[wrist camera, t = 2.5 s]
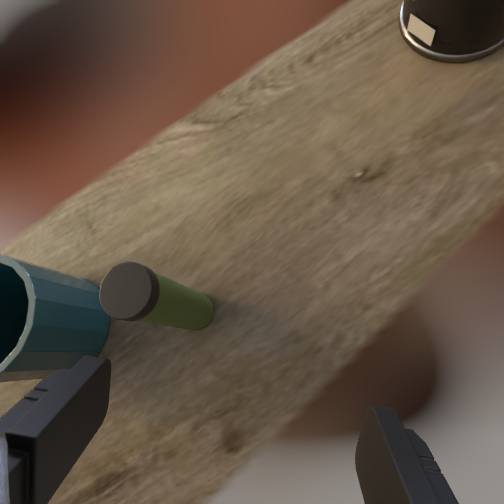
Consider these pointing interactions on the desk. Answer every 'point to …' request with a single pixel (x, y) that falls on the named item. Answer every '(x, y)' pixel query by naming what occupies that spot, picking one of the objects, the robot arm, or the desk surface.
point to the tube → (152, 298)
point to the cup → (46, 320)
